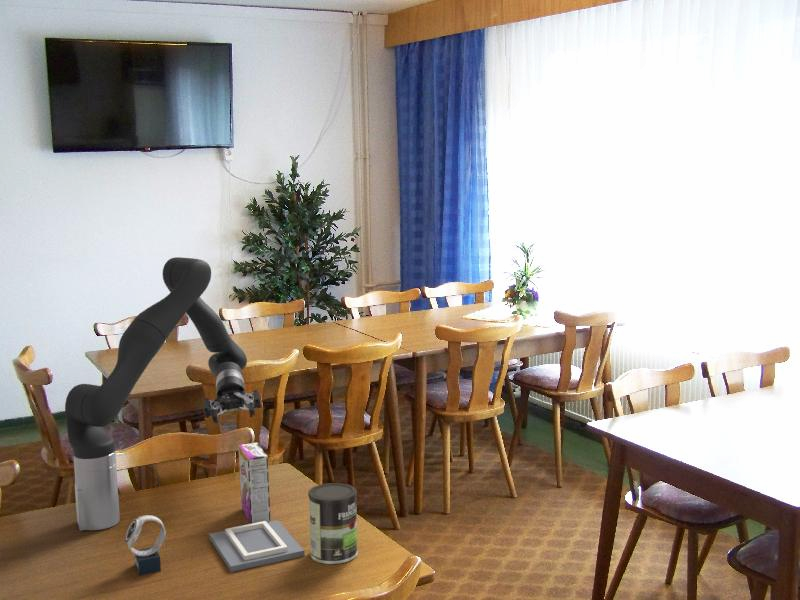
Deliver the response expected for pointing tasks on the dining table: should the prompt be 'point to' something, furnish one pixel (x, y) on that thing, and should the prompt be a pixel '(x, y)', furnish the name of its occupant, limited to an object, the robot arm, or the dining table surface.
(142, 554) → the watch
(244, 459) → the candy bar box
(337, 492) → the coffee can
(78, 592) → the dining table surface
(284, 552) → the collar plate
